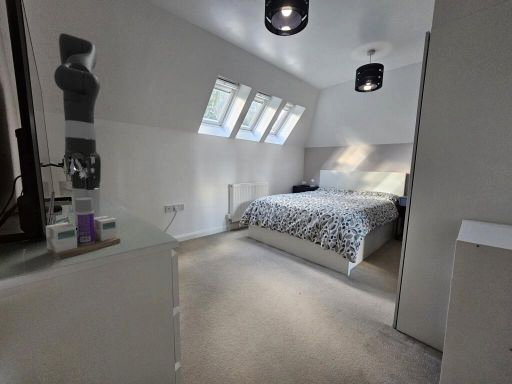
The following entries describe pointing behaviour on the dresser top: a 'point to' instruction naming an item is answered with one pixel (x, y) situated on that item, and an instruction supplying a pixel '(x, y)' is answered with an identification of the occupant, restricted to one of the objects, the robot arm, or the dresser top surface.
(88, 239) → the container
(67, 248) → the board
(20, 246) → the dresser top surface
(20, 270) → the dresser top surface
